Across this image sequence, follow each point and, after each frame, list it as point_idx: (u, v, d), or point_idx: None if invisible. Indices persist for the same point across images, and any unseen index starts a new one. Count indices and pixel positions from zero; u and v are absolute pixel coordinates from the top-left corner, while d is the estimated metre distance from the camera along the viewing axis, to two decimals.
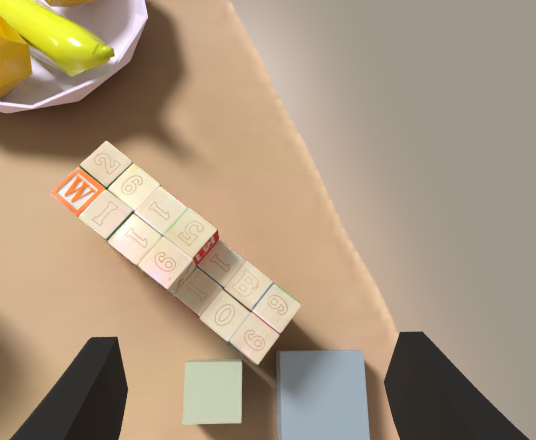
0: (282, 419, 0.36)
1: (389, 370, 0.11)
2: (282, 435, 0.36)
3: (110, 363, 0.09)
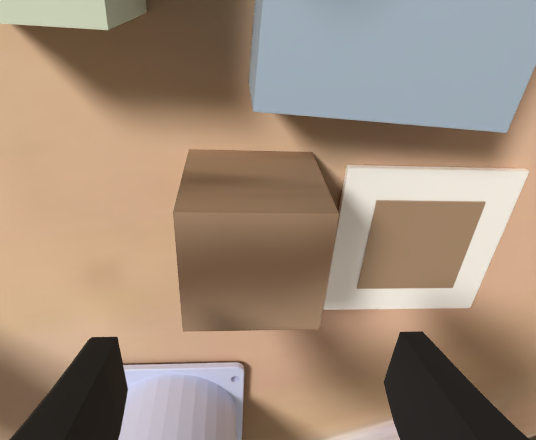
0: (264, 27, 0.10)
1: (389, 370, 0.11)
2: (258, 78, 0.11)
3: (110, 363, 0.09)
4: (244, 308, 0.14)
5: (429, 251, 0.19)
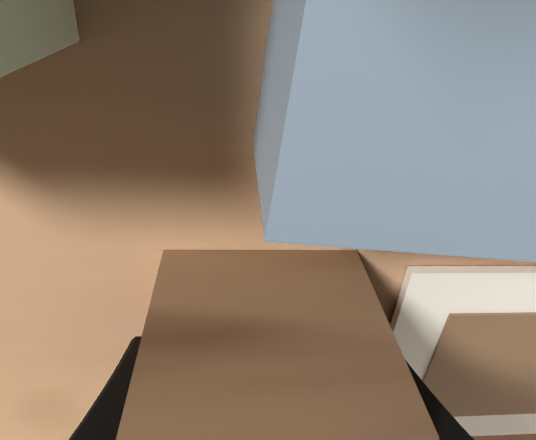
0: (301, 79, 0.05)
1: None
2: (280, 181, 0.05)
3: None
4: None
5: (516, 372, 0.13)
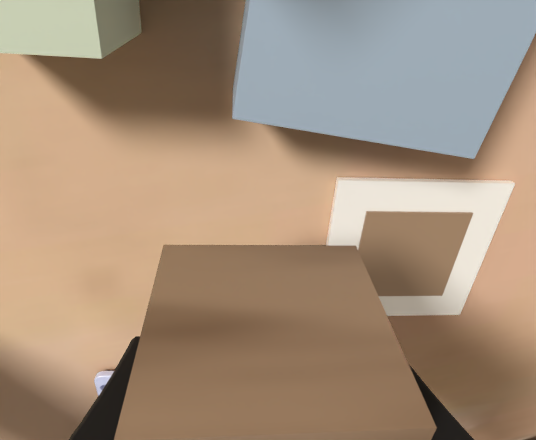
0: (248, 38, 0.11)
1: None
2: (239, 86, 0.11)
3: None
4: None
5: (419, 260, 0.20)
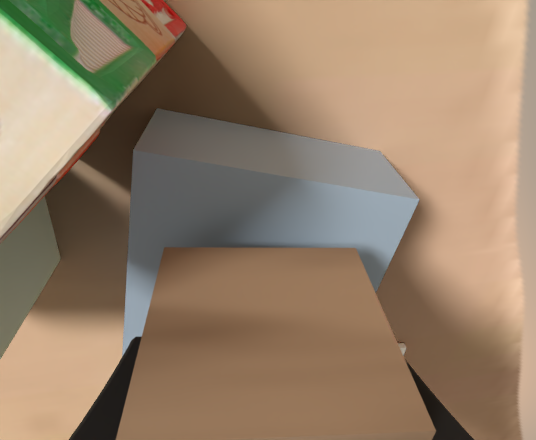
0: (127, 314, 0.13)
1: None
2: (125, 340, 0.14)
3: None
4: None
5: None
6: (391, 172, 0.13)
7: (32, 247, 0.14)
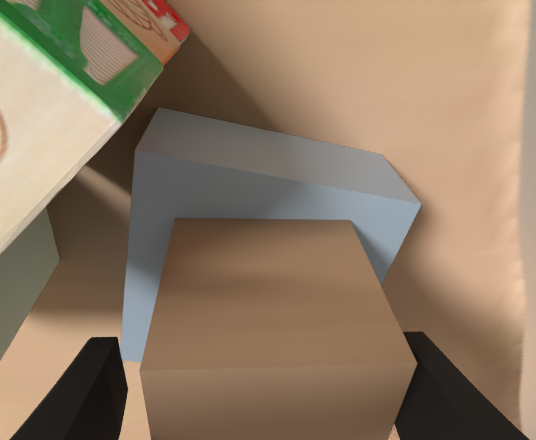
0: (126, 314, 0.13)
1: None
2: (123, 341, 0.14)
3: (110, 363, 0.09)
4: None
5: None
6: (393, 176, 0.13)
7: (32, 249, 0.14)
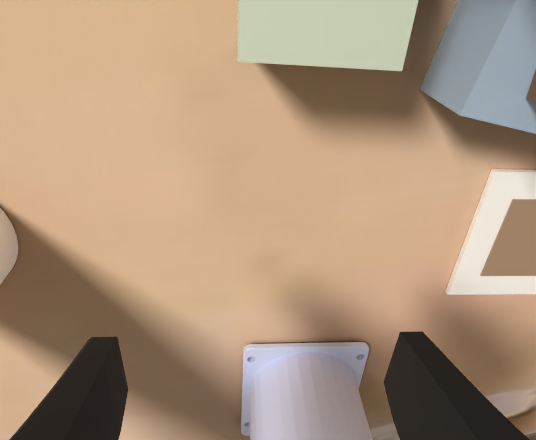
0: (494, 51, 0.13)
1: (389, 370, 0.11)
2: (473, 89, 0.14)
3: (110, 363, 0.09)
4: None
5: None
6: None
7: None
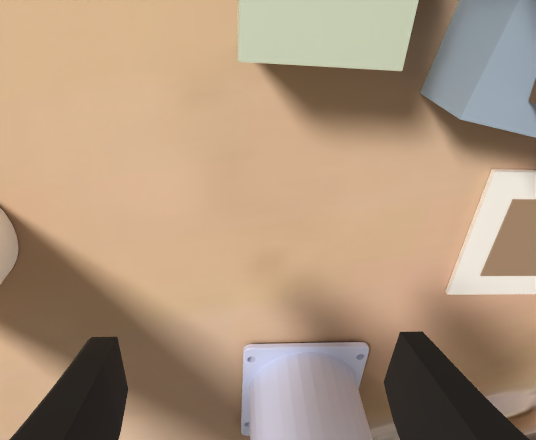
0: (493, 55, 0.13)
1: (389, 370, 0.11)
2: (473, 93, 0.14)
3: (110, 363, 0.09)
4: None
5: None
6: None
7: None
